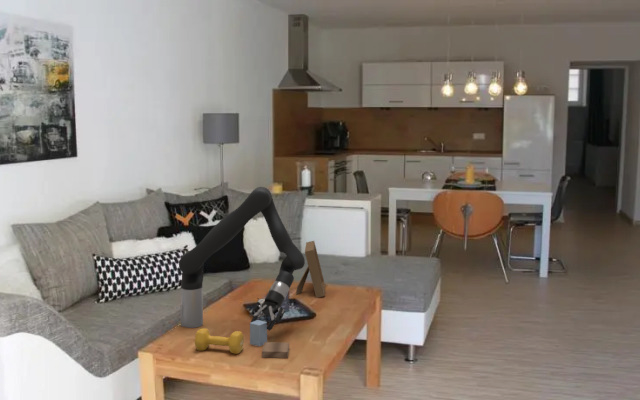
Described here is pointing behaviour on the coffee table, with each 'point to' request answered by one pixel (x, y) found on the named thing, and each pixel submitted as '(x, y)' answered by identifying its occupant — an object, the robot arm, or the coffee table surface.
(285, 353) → the slab
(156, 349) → the coffee table surface
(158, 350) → the coffee table surface
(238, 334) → the dumbbell
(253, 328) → the pillar
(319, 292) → the photo frame
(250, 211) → the robot arm
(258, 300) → the game die
